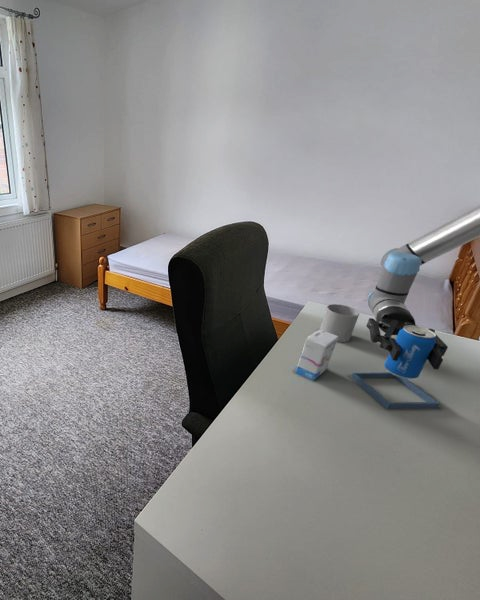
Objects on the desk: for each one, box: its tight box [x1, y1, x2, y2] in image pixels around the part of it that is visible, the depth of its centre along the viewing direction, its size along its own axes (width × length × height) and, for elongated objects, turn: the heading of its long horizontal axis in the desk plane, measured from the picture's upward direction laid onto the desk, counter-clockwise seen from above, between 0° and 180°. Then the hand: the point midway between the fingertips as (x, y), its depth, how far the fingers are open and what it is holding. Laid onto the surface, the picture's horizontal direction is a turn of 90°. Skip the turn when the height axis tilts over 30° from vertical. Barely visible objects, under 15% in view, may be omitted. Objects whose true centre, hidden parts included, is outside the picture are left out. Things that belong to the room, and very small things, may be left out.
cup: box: [319, 303, 360, 343], centre depth 110 cm, size 8×8×10 cm
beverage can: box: [384, 325, 437, 380], centre depth 82 cm, size 6×6×12 cm
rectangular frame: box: [350, 371, 441, 410], centre depth 87 cm, size 12×12×2 cm
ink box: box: [294, 329, 338, 381], centre depth 93 cm, size 9×5×12 cm, turn 126°
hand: (417, 359), depth 78 cm, fingers closed on beverage can, 6 cm apart
